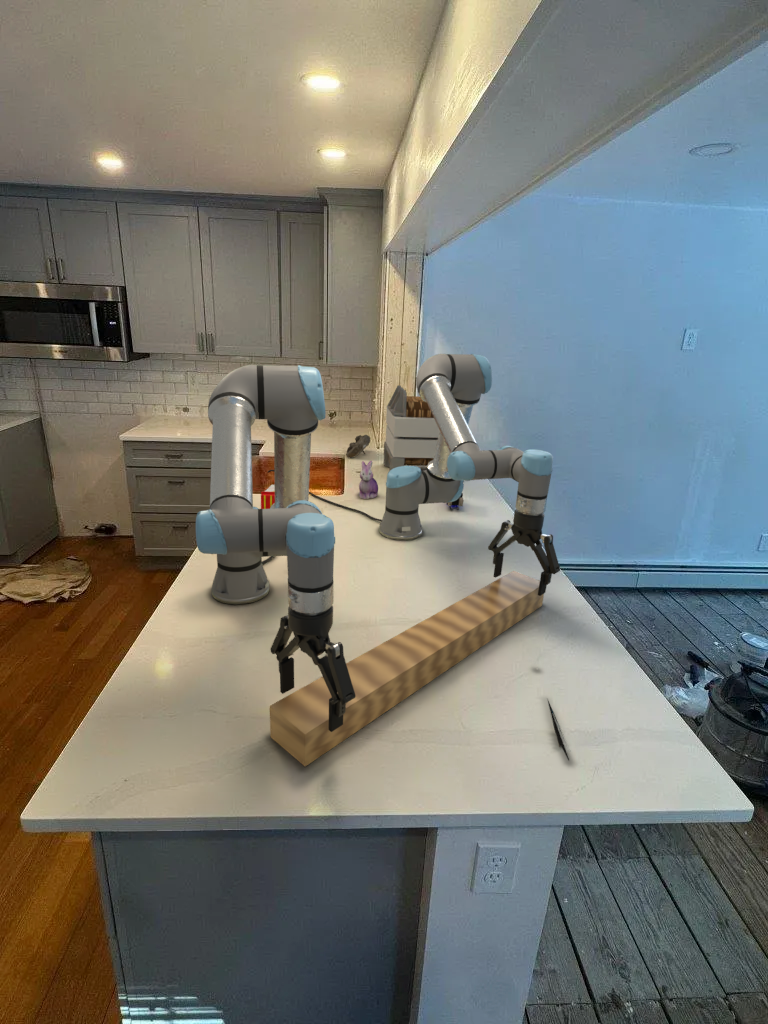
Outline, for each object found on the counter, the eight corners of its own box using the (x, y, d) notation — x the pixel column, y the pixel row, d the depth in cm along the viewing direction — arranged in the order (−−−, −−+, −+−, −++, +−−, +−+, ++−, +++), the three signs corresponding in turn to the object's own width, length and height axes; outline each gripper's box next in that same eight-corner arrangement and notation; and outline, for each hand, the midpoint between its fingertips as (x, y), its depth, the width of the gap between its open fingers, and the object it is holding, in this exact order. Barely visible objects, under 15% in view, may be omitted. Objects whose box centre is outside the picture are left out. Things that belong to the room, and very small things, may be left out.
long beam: (510, 592, 161) (513, 570, 159) (542, 605, 155) (545, 582, 153) (270, 737, 104) (269, 705, 101) (305, 766, 97) (304, 734, 95)
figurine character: (463, 515, 225) (458, 499, 238) (465, 497, 221) (460, 482, 235) (446, 514, 224) (442, 498, 238) (448, 497, 221) (444, 482, 235)
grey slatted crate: (382, 463, 289) (386, 382, 275) (445, 464, 293) (451, 384, 279) (390, 482, 257) (394, 392, 243) (460, 483, 261) (468, 394, 247)
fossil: (346, 440, 314) (367, 425, 309) (357, 454, 317) (378, 439, 312) (340, 454, 295) (362, 438, 290) (351, 468, 298) (374, 453, 293)
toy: (300, 480, 222) (290, 493, 193) (300, 513, 225) (290, 531, 196) (269, 479, 222) (255, 492, 193) (270, 512, 225) (255, 530, 195)
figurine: (363, 500, 232) (364, 465, 227) (352, 493, 240) (353, 459, 235) (383, 498, 236) (385, 463, 231) (372, 491, 244) (373, 457, 239)
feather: (537, 674, 127) (543, 668, 127) (569, 765, 101) (576, 758, 100) (531, 670, 127) (536, 664, 126) (561, 760, 100) (568, 753, 100)
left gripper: (248, 585, 100) (253, 684, 108) (345, 645, 84) (342, 756, 92) (283, 572, 105) (284, 667, 113) (379, 626, 89) (374, 733, 97)
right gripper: (480, 501, 150) (472, 572, 158) (568, 529, 135) (554, 607, 142) (496, 495, 155) (487, 564, 163) (582, 521, 140) (568, 597, 147)
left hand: (310, 707), depth 102 cm, fingers open, 13 cm apart
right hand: (518, 584), depth 153 cm, fingers open, 13 cm apart
